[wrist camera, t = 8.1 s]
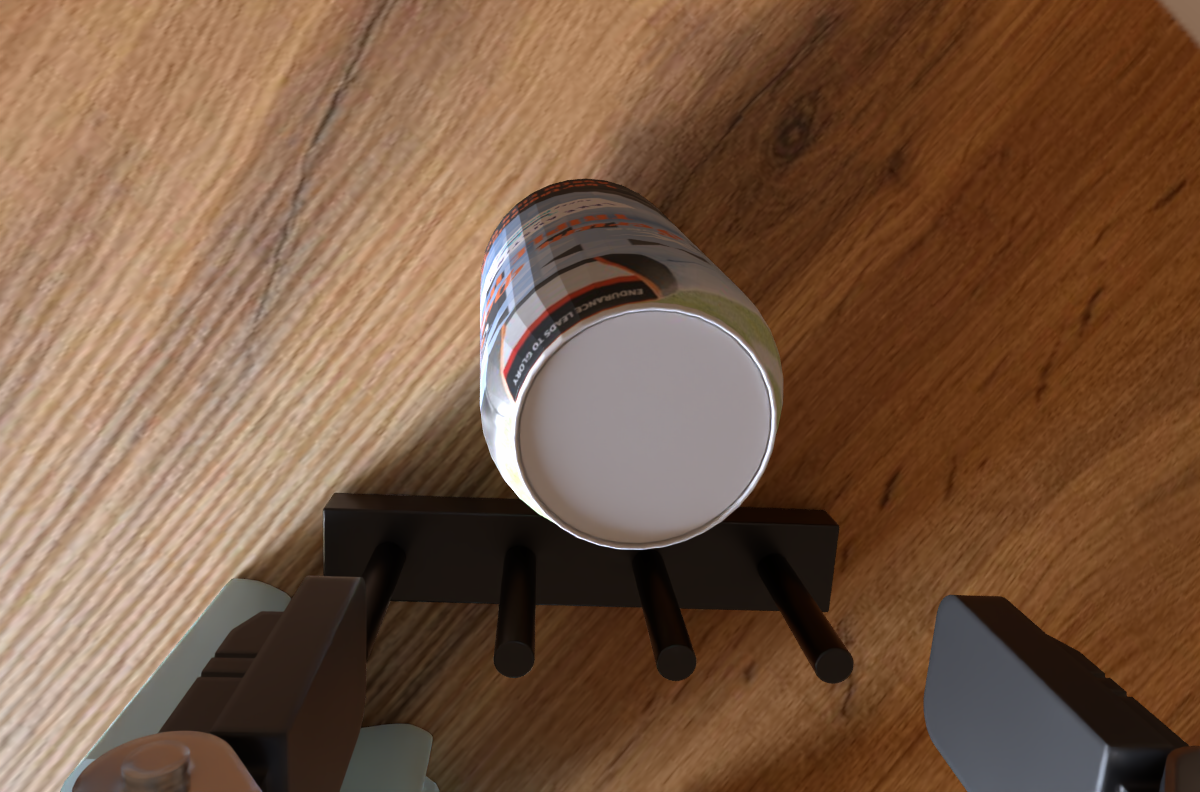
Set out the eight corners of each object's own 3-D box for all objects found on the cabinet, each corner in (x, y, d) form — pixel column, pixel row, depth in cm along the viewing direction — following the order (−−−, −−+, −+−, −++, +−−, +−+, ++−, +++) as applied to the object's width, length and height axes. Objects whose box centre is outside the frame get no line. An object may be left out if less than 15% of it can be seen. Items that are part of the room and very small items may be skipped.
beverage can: (622, 141, 26) (696, 108, 14) (732, 353, 28) (877, 478, 16) (438, 245, 26) (364, 297, 15) (559, 449, 28) (579, 639, 16)
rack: (333, 491, 28) (259, 596, 20) (825, 509, 29) (921, 613, 22) (334, 579, 28) (262, 711, 21) (815, 592, 30) (904, 721, 22)
